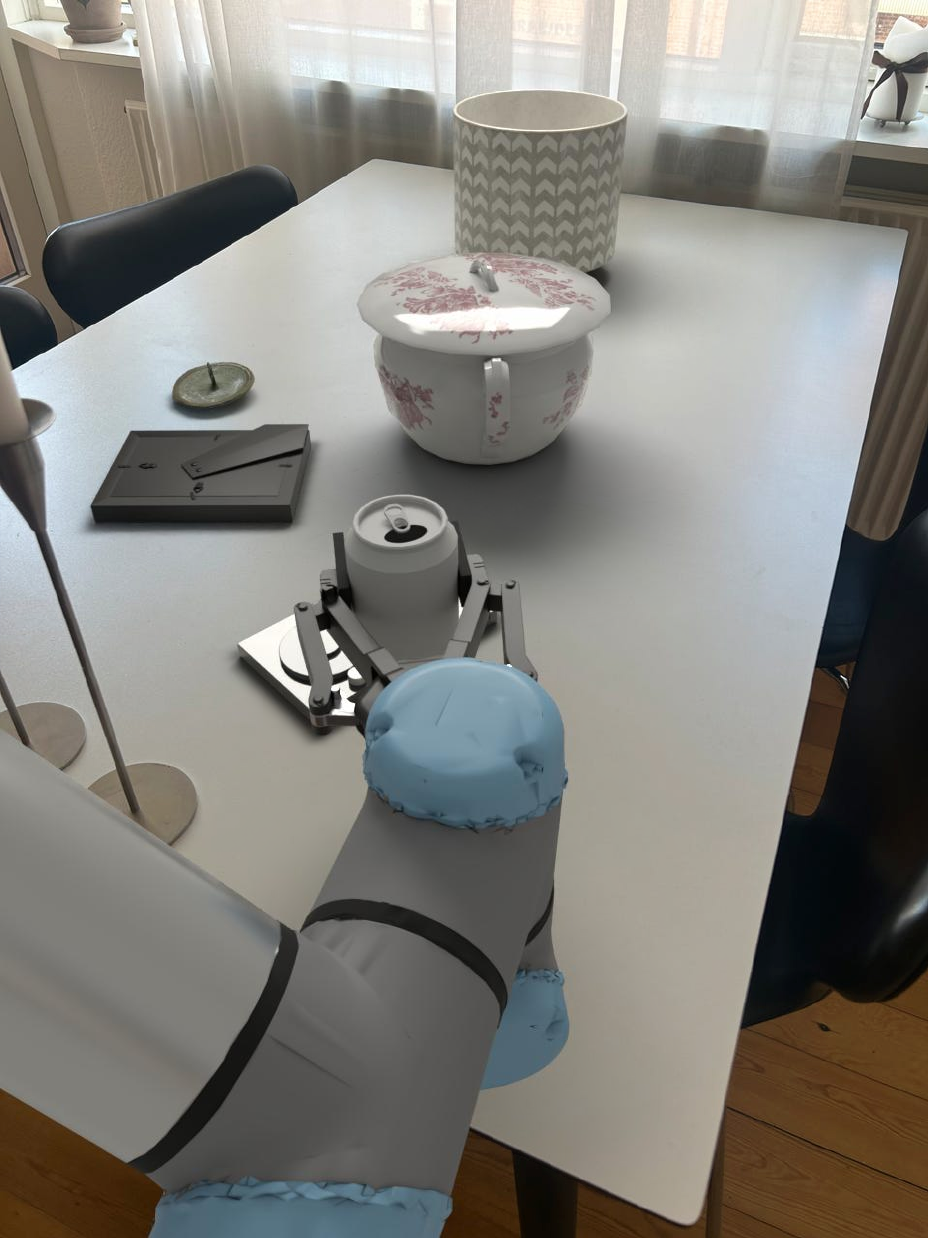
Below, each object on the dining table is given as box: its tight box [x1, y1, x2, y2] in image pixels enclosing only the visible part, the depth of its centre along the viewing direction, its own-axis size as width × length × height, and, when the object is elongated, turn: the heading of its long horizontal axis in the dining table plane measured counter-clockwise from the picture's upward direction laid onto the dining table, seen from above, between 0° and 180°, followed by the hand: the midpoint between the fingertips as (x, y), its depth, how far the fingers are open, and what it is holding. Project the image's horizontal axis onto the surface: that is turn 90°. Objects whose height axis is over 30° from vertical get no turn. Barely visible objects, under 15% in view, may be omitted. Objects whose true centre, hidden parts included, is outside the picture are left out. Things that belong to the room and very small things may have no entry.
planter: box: [452, 88, 629, 273], centre depth 146 cm, size 25×25×24 cm
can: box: [344, 494, 459, 660], centre depth 66 cm, size 8×8×12 cm
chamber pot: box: [356, 253, 612, 466], centre depth 108 cm, size 28×28×21 cm
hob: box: [236, 600, 498, 722], centre depth 86 cm, size 12×20×2 cm, turn 132°
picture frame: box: [89, 423, 312, 523], centre depth 106 cm, size 16×3×21 cm
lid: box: [171, 361, 255, 409], centre depth 122 cm, size 11×10×5 cm
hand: (396, 542), depth 70 cm, fingers closed on can, 7 cm apart
